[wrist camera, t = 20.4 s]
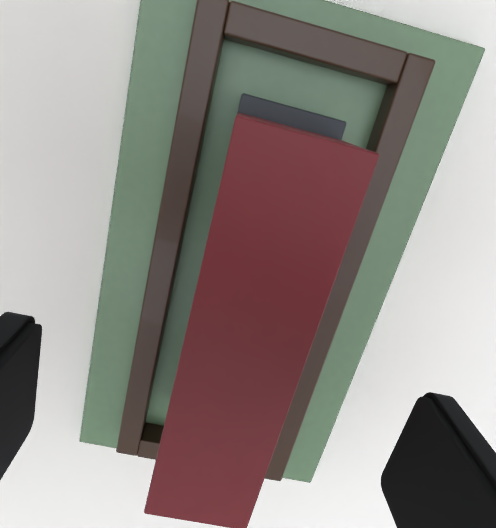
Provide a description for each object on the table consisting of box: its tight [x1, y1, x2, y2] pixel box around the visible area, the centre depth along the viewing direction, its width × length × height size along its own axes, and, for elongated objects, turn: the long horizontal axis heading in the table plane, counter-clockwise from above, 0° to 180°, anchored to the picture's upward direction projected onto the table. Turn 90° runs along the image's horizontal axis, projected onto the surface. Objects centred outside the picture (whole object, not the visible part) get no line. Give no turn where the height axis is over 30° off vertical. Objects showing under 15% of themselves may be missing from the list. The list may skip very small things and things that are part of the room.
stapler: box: [144, 93, 379, 528], centre depth 15 cm, size 14×4×6 cm, turn 166°
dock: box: [80, 0, 485, 483], centre depth 17 cm, size 12×21×2 cm, turn 166°
